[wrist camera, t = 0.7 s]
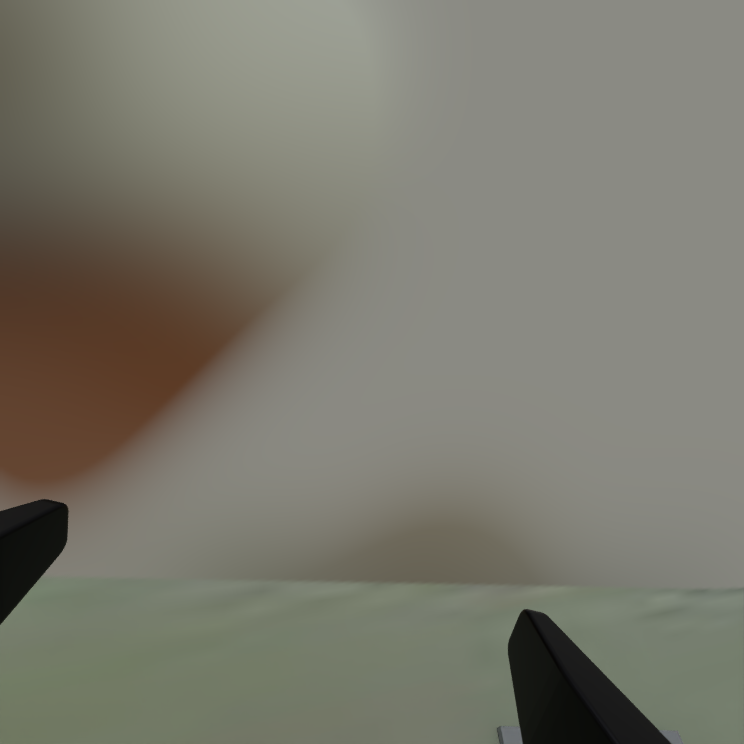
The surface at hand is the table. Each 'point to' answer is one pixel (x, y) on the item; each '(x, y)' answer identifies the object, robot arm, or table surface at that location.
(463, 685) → the table surface
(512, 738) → the slate mat
